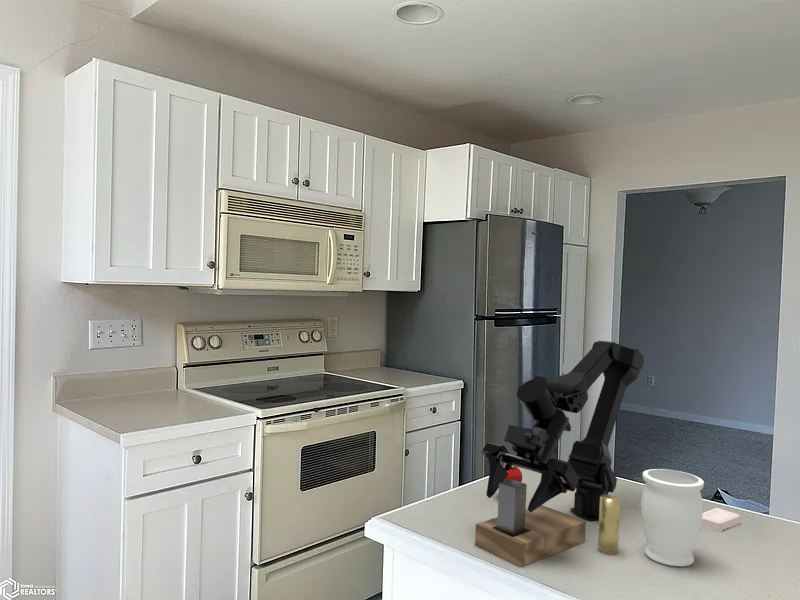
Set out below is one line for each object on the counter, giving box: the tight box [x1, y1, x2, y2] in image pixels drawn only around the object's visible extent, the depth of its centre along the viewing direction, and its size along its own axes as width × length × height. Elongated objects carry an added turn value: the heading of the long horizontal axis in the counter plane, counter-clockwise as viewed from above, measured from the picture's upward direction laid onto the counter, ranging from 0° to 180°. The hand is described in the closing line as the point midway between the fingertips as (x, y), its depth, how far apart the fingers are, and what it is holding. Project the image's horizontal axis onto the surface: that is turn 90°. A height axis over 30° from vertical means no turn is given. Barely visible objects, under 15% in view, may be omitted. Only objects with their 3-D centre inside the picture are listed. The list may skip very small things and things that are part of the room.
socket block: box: [474, 504, 587, 568], centre depth 117 cm, size 19×11×4 cm, turn 129°
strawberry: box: [503, 465, 523, 483], centre depth 141 cm, size 6×8×10 cm
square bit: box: [497, 479, 528, 537], centre depth 113 cm, size 4×4×12 cm
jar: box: [640, 468, 705, 567], centre depth 113 cm, size 11×10×15 cm
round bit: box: [597, 494, 621, 556], centre depth 115 cm, size 4×4×10 cm
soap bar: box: [701, 507, 741, 532], centre depth 131 cm, size 5×9×2 cm, turn 126°
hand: (508, 503), depth 112 cm, fingers open, 9 cm apart
